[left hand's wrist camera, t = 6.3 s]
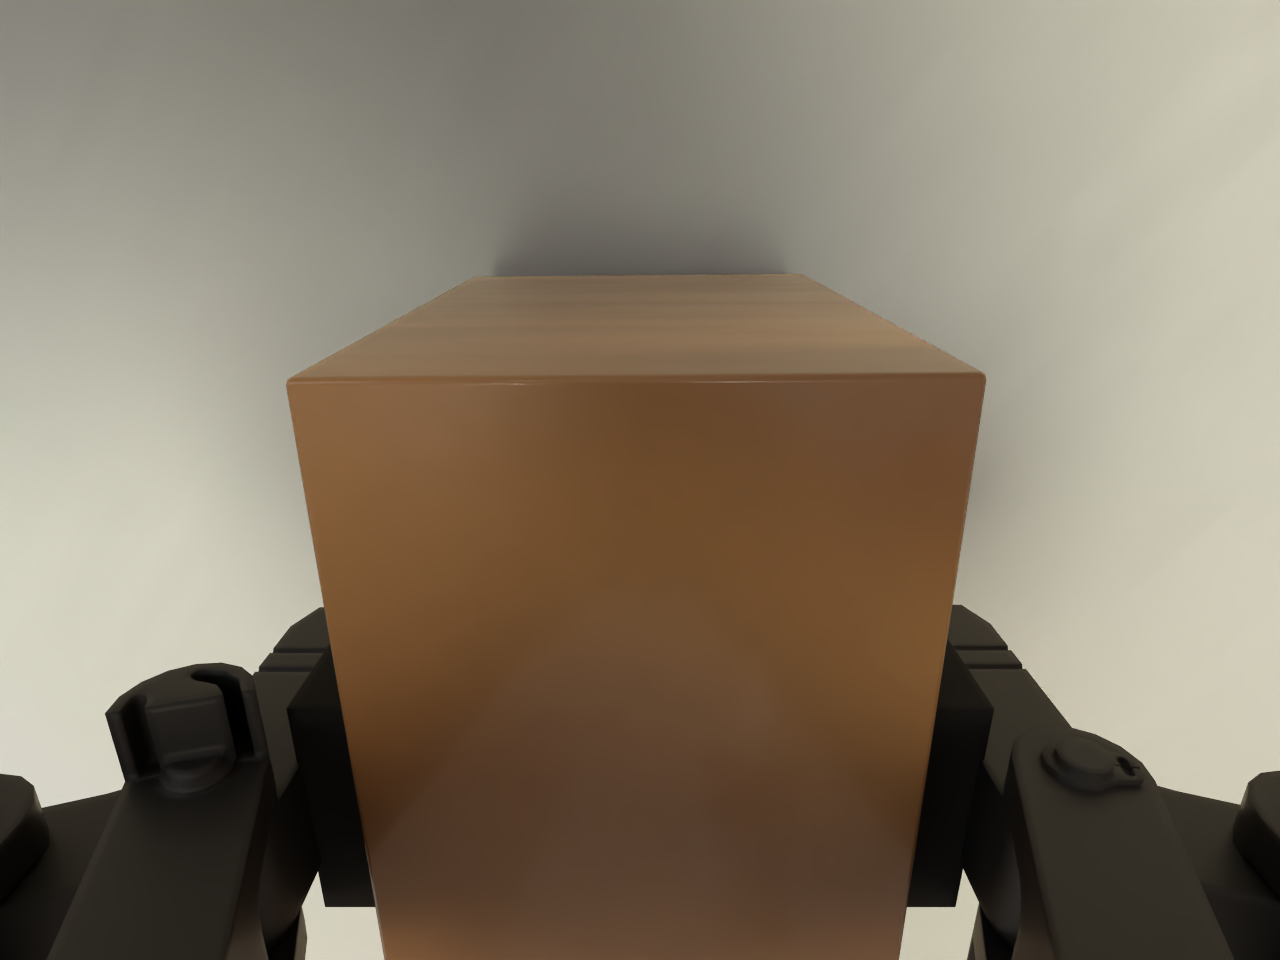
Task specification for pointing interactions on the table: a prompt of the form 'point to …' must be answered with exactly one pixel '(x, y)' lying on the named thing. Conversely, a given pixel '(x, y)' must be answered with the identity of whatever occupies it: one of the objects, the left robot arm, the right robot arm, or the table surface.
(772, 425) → the beam
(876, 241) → the table surface
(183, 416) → the table surface
